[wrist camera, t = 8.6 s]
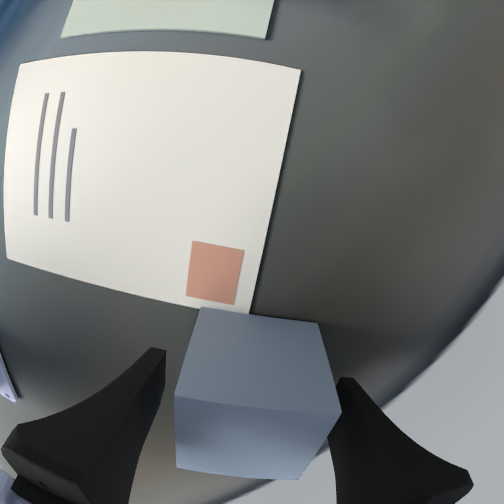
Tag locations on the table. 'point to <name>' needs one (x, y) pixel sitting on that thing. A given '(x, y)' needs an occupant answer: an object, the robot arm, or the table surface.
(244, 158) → the letter
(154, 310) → the table surface
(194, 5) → the mat
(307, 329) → the cube
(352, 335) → the table surface
